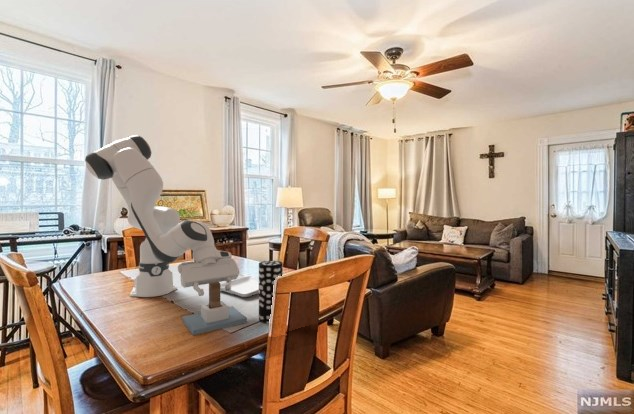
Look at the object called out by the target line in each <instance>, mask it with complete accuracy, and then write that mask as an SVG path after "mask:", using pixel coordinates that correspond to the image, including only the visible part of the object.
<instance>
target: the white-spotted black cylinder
mask: <svg viewBox="0 0 634 414" xmlns="http://www.w3.org/2000/svg"><path fill="white" fill-rule="evenodd" d="M283 266H284V265H283V261H279V260H264V261H261V262H259V263H258V278H259V294H258V321H259V322H260V323H262V324H269V319H270V314H271V305H272V297H273V285H274V280H275V278H276V277H278V276H282V275H283V273H284V272H283V268H284V267H283Z"/></svg>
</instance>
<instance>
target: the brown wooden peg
mask: <svg viewBox="0 0 634 414" xmlns="http://www.w3.org/2000/svg"><path fill="white" fill-rule="evenodd" d="M220 284H221V283H220V282H218V281H217V282H210V283H209V284H208V303H209V308H210V309H213V308H218V307H220V301H221V290H220Z"/></svg>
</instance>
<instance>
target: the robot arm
mask: <svg viewBox="0 0 634 414" xmlns="http://www.w3.org/2000/svg"><path fill="white" fill-rule="evenodd" d="M151 157H152V149H151V146H150V145H149V143H148V141H147V140H146V139H145V138H144V137H143V136H140V135H137V134H135V135H130V136H127V137H125V138H122V139H117V140H115V141H113V142H111V143H110V144H109V143H108V144H107V145H105V146H103V147H101V148H99V149H97V150H95V151H92V152H90V153H88V154H87V155H86V156H85V159H84V161H85V166H86V168H87V170H88V172H89V173H90V174H91V175H92V176H94V177H96V178H97V179H99V180H108V179H111V180H112V182H113V184H114V185H115V187H116V188H117V190H118V192H119V193H120V194H121V196H122V198H123V199H124V201H125V202H126V203H125V204H126V205H127V208H128V214H127V221H128V224H129V225H130V227H132V228H135V229H138V230H141V231H142V232H143V234H144V236H145V239H144V241H141V244H140V245H139V263H138V271H139V272H138V274H136V276H135V277H134V278H133V281H132V283H133V284H134V286H133V287H132V290H131V291H130V294H129V296H130V297H140V298H154V297H159V296H165V295H167V294H169V293H171V292H173V291H176V290H178V287H177V286H176V285H174V275H173V274H174V273H173V271H171V270H170V269H169V268H170V264H171V263H174V262H176V261H177V260H178V259H179V258H180V257H181V256H182V255H183V254H185V253H186V252H188V251H189V250H191V251H192V261H187V262H181V263H180V264H179V265H177V272H178V273H179V274H180V285H181V287H183V288H190V287H192V288H193V289H194V291H196V293H197V295H198V297H201V296H202V297H203V296H204V295H205V291H204V288H201V287H199V286H202V285H203V286H204V285H209V283H210V282H217V281H218V282H219V283H220V282H225V283H228V285H226V286H225V289H226V291H230V290H231V286H230V283H231V281H233V280H237V279H238V277H239V275H240V269H239V267H238V265H237V262H236V260H234V258H232V253H231V252H229V251H226V250H225V251H224V250H219V249H217V247H216V246H215V240H214V239H215V238H214V236H213V234H212V231H211V229H210V227H209V226H208V225H207V223H205V222H203V221H193V220H189V219H184V220H182V221H180V220H181V217H180V213H179V211H177V209H174V208H171V207H168V206H157V205H156V204H157V202H158V201H159V198H160V196H161V195H162V193H163V189H164V181H163V179H162V177H161V175H160V173H159V172H158V171H157V169H155V167H154V166H153V164H151V162H150V161H149V159H151Z"/></svg>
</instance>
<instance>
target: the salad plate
mask: <svg viewBox="0 0 634 414" xmlns="http://www.w3.org/2000/svg"><path fill="white" fill-rule="evenodd" d="M226 285H228V283H226V282H223V283H220V292H221V291H222V292H225V293H228V294H231V295H234V294H235V296H238V297H242V298H248V297H253V296H255V294H256V295H259V294H258V293H259V277H255V276H252V275H249V276H245V277H241V278H237V279H235V280H231V283H230V286H231V290H230V291H226V289H225V286H226ZM252 295H253V296H252Z"/></svg>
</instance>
